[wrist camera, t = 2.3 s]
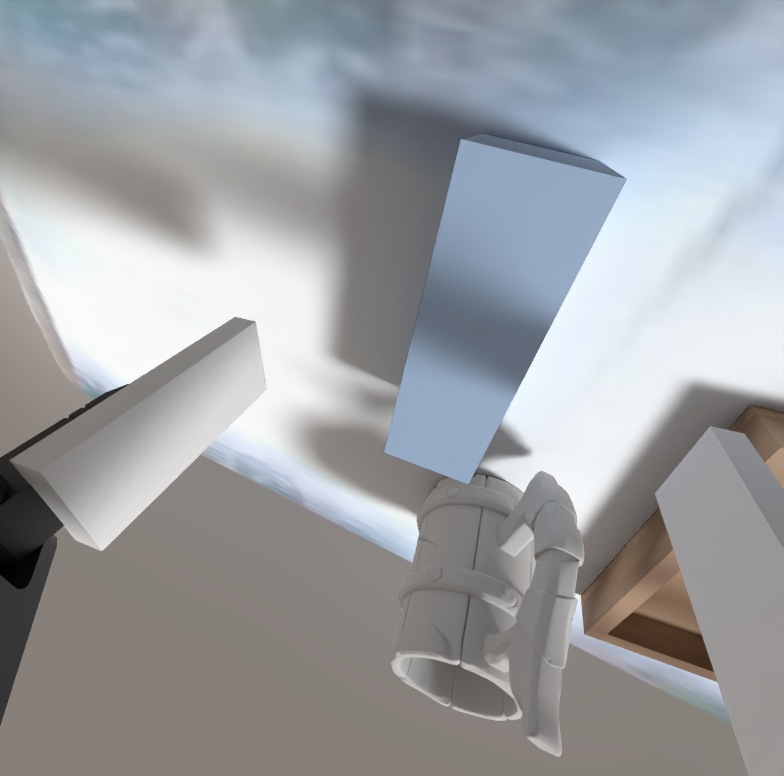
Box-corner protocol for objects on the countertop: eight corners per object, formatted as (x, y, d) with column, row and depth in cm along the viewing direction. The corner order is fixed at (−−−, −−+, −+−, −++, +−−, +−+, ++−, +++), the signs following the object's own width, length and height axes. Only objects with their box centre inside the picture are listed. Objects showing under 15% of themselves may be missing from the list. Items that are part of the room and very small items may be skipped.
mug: (406, 507, 26) (336, 713, 17) (502, 407, 19) (469, 679, 10) (496, 558, 27) (473, 789, 17) (627, 480, 19) (711, 816, 10)
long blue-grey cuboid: (484, 133, 13) (460, 138, 9) (599, 160, 12) (626, 179, 8) (412, 390, 20) (383, 452, 16) (481, 413, 20) (468, 484, 16)
